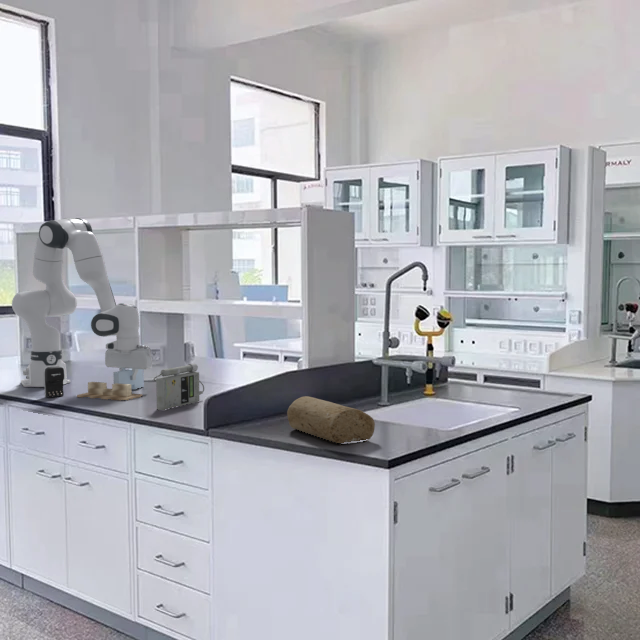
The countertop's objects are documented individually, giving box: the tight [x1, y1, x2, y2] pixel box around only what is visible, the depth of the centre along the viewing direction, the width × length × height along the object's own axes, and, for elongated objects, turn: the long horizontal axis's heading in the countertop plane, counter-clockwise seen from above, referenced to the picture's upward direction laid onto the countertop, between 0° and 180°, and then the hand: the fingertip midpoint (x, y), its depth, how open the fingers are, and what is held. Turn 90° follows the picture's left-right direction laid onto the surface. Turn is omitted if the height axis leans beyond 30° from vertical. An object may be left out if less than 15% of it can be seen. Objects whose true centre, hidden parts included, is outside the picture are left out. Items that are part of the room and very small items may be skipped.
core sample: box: [286, 395, 376, 444], centre depth 212 cm, size 14×26×10 cm, turn 33°
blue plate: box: [112, 368, 145, 390], centre depth 294 cm, size 16×2×8 cm, turn 158°
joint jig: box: [76, 381, 143, 401], centre depth 279 cm, size 22×10×5 cm, turn 68°
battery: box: [43, 366, 65, 398], centre depth 279 cm, size 7×4×11 cm, turn 132°
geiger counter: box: [153, 362, 205, 411], centre depth 262 cm, size 14×6×25 cm
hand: (129, 379), depth 294 cm, fingers closed on blue plate, 2 cm apart
